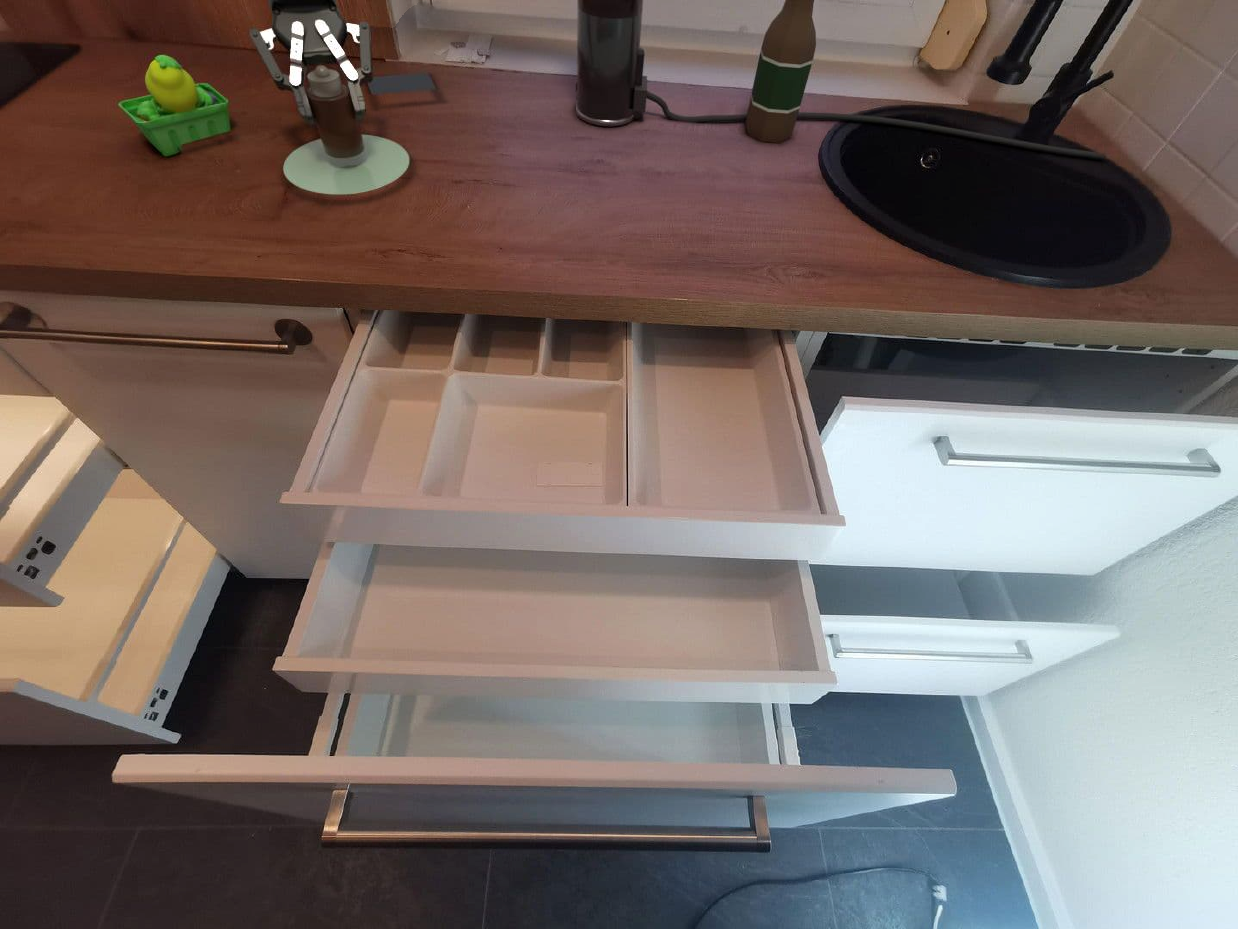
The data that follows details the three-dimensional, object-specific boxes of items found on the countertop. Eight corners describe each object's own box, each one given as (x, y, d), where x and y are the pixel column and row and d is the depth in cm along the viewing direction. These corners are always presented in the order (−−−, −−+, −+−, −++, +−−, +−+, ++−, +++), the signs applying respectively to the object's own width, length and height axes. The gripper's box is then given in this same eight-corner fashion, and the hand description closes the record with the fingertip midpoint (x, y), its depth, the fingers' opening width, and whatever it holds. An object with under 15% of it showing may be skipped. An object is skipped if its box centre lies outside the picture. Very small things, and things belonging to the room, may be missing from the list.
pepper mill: (362, 137, 83) (339, 55, 75) (367, 155, 80) (344, 72, 72) (323, 142, 82) (296, 58, 74) (326, 160, 79) (299, 76, 71)
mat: (428, 76, 103) (428, 72, 102) (441, 101, 97) (440, 97, 97) (366, 81, 100) (365, 77, 100) (375, 108, 95) (374, 104, 94)
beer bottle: (797, 128, 99) (851, -63, 80) (784, 148, 95) (838, -49, 76) (751, 116, 101) (793, -74, 82) (736, 135, 97) (777, -61, 77)
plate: (400, 136, 90) (398, 128, 89) (421, 193, 81) (419, 184, 80) (282, 150, 85) (278, 141, 84) (291, 210, 77) (287, 201, 76)
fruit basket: (221, 119, 90) (182, 28, 81) (249, 142, 86) (212, 50, 77) (137, 141, 84) (86, 47, 75) (163, 168, 81) (113, 72, 72)
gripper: (217, -50, 68) (266, 113, 71) (352, -55, 72) (394, 100, 75) (237, -8, 75) (281, 139, 78) (359, -15, 79) (396, 126, 82)
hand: (336, 119), depth 76 cm, fingers closed on pepper mill, 5 cm apart
